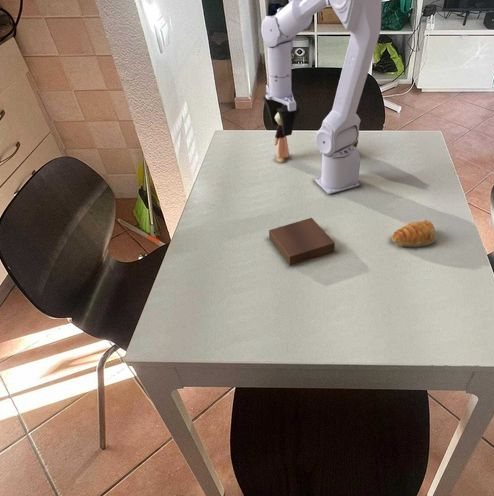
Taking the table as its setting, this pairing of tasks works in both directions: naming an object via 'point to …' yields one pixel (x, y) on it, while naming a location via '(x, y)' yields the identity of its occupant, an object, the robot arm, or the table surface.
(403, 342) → the table surface
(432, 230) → the pastry
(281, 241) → the walnut block
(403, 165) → the table surface
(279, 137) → the grandmother figurine
